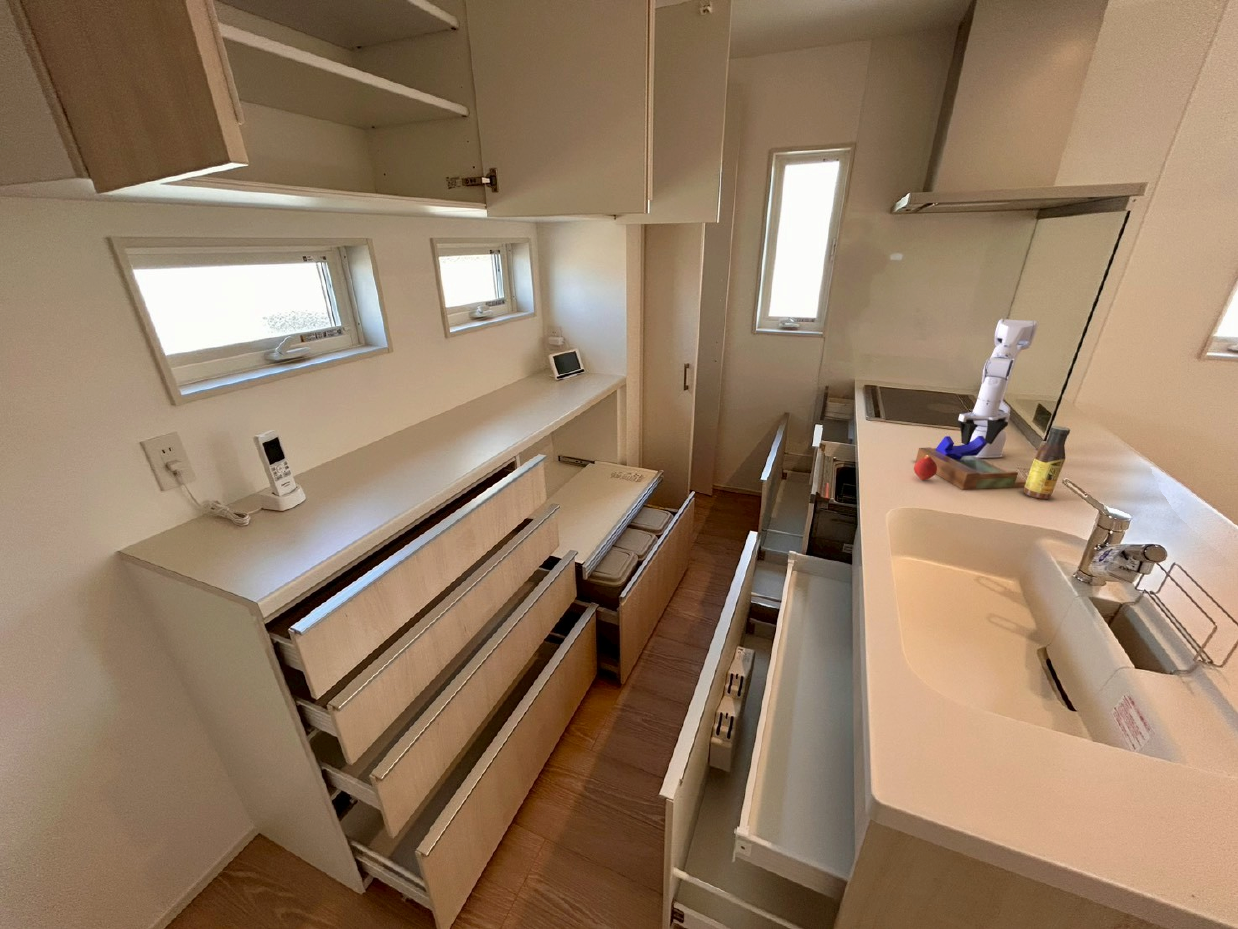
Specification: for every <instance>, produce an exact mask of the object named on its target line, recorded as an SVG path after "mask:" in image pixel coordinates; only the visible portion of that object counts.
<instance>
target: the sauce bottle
mask: <svg viewBox="0 0 1238 929" xmlns="http://www.w3.org/2000/svg"><path fill="white" fill-rule="evenodd" d="M1070 433H1071V429H1070V428H1069V427H1065V426H1061V425H1052V426H1050V429H1049V434H1048V437H1047V438H1046V442H1045V443H1043V444H1041V446H1039V447H1038V449H1037V451H1036V454H1035V456H1034V459H1033V461H1032V464H1031V466H1030V469H1029V472H1028V475H1027V478H1026V480H1025V481H1026V483H1025V486H1024V488H1023V494H1025V495H1026V496H1029V497H1032V498H1033V499H1040V500H1041V499H1042V500H1046V499H1047V500H1048V499H1049V498H1050V497H1051V496H1052V494H1053V492H1054V490H1055V487H1056V485H1057V482H1058V479H1059V477H1060V474H1061V473H1062V472H1061V471H1062V469H1063V466H1064V464H1065V461H1066V447H1065V446H1066V441H1067V438H1068V436H1069V435H1070Z"/></svg>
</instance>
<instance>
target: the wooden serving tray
mask: <svg viewBox="0 0 1238 929" xmlns="http://www.w3.org/2000/svg"><path fill="white" fill-rule="evenodd" d="M936 448H937V447H935V448H933V447H918V450H917V454H916V458H915V463H916V462H917V461H918V460H920V459H922V458H925V457H926V455H929V456H930V458H931V459H932V460H933V461H934V462H935V463H936V466H937V472H936V474H935V475H937V476H939V477H940V478H942V479H944V480H945V481H947V482H949V483H951V484H952V485H954V486H955V487H957V488H959V489H961V490H981V489H1000V488H1001V489H1003V488H1020V487H1022V488H1023V487H1024V488H1025V483H1026V480H1025V479H1022V478H1020V477H1018V475H1019V472H1018V471H1016V470H1015V471H1007V470H1004V469H1003V468H1000V467H998V466H996V465H994V464H991V463H989V462H987V461H985V460H983V459H982V458H977V457H975V456H963V457H962V458H961V459H960V460H954V459H952V458H950V457H948V456H946V455H944V454H942V453H940V452H938V451H936Z"/></svg>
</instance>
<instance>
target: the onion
mask: <svg viewBox="0 0 1238 929" xmlns="http://www.w3.org/2000/svg"><path fill="white" fill-rule="evenodd" d="M913 471H914V474H915V475H916V476H917V477H918V478H919V480H921V481H925V480H929V479H931V478H934V476H935V475H937V474H936V472H937V466H936V463H935V462H934V461H933V460H932V459H931V458H930V456H929V455H926V457H925V458H922V459H920V460H918V461H917V462H916V461H915V463H914V466H913Z"/></svg>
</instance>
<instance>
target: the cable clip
mask: <svg viewBox="0 0 1238 929" xmlns="http://www.w3.org/2000/svg"><path fill="white" fill-rule="evenodd" d="M986 444H987V442H985V438H984V437H983V436H978V437H977V438H975V439H974V440H973V441H971V442H970V443H969V444H968V445H965V444H960V445H955V442H954V441H953V438H951V436H950V435H946V436H944V437H943V438H942V439H941V441H940V442H939V444H938V445H937V446H936V447H935V448H936V451H938V452H940V453H942V454H944V455H946V456H948V457H950V458H952V459H954V460H960V459H961V458H962V457H963V456H977V455H978V454H979V452H980V451H981V450H982V449H983V448H984V447H985V446H986Z"/></svg>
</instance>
